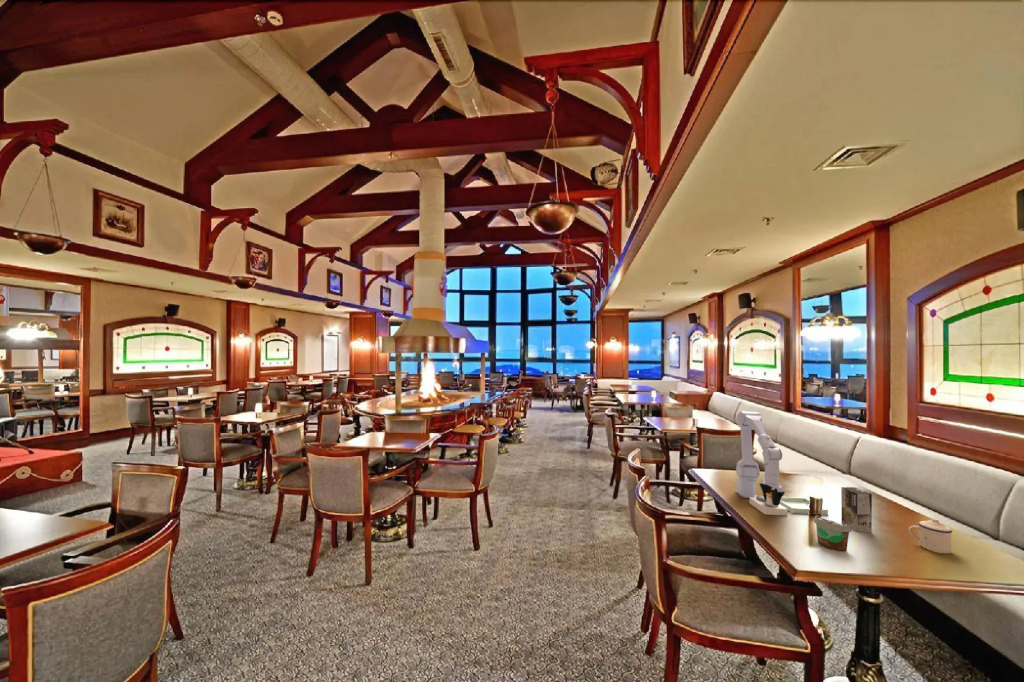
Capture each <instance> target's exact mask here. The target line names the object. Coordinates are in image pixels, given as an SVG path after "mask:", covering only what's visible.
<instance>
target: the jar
mask: <svg viewBox="0 0 1024 682" xmlns="http://www.w3.org/2000/svg"><path fill="white" fill-rule="evenodd" d="M766 495H767V501H766V505H767V506H768V507H776V506H775V505H773V498H772V494H771V492H766Z"/></svg>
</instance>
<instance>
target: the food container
mask: <svg viewBox="0 0 1024 682" xmlns="http://www.w3.org/2000/svg"><path fill="white" fill-rule="evenodd" d="M813 522H814V524H815V525H816V526H815V527H816V538H817V544H819V546H821V547H823V548H826V549H828V550H830V551H835V552H841V553H842V552H847V551H848V542H849V538H850V537H849V534H850V532H852V528H850V526H846V525H843V524H840V523H838V522H836V521H833V520H829V519H825V518H823V517H820V515H815V517H814V519H813Z"/></svg>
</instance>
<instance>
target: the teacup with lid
mask: <svg viewBox="0 0 1024 682" xmlns="http://www.w3.org/2000/svg"><path fill="white" fill-rule="evenodd" d="M918 525H919V526H918ZM918 525H911V526H909V527H908V532H909V535H910V536H911V537H912V538H914V539H916V540H919V546H920V545H921V546H922V547H925V548H927V549H930V550H933V551H937V552H942V553H950V552H951V553H952V532H953V530H952V528H951V527H949V526H948V525H946V524H944V523H942V522H940V520H939V519H938V518H933V517H932V518H931V519H929V520H922V521H921V520H920V521H919V522H918ZM912 529H918V530H919V537H918V536H916V535H914V534H913V533H912V532H913V531H912ZM921 546H920V547H921ZM922 547H921V548H922ZM951 553H950V554H951Z"/></svg>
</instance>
